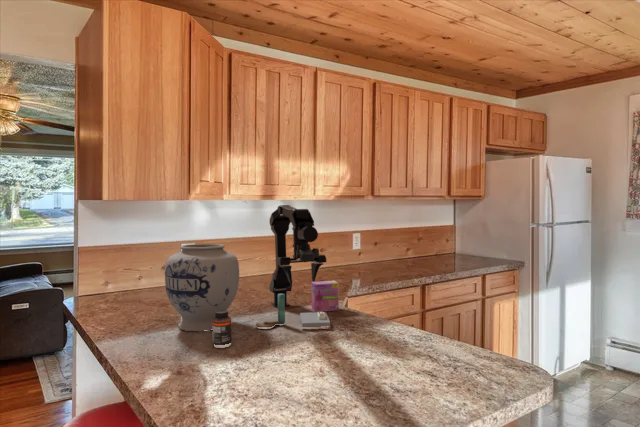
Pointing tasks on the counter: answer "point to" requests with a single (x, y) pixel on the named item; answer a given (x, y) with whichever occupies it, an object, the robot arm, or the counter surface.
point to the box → (325, 296)
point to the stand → (314, 319)
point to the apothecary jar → (201, 283)
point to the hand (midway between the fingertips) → (302, 282)
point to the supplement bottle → (222, 328)
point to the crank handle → (280, 314)
